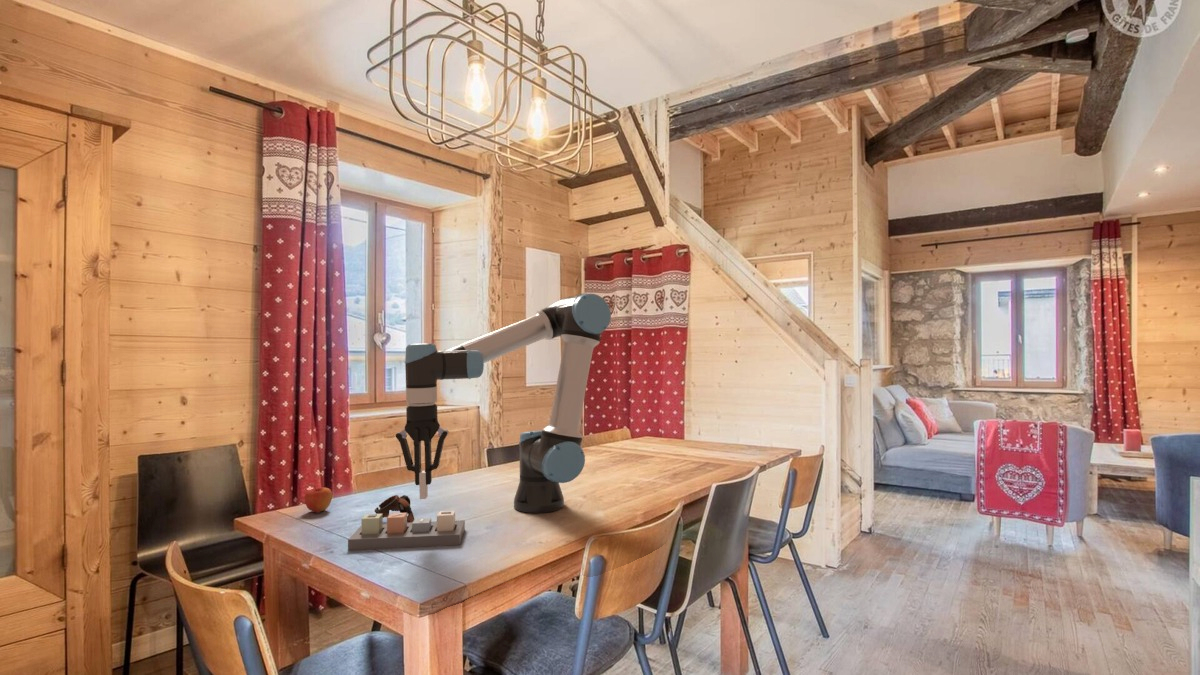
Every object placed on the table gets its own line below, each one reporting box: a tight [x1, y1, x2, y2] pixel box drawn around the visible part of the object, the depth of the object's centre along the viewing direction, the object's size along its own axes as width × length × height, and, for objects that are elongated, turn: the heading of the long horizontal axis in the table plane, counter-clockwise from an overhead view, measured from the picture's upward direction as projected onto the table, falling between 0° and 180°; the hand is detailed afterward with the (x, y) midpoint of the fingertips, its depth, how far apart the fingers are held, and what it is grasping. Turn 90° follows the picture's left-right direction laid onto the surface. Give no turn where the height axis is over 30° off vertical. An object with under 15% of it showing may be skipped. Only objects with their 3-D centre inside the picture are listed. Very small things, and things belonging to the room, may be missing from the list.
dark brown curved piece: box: [374, 494, 415, 523], centre depth 161 cm, size 12×10×8 cm
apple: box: [304, 485, 333, 514], centre depth 170 cm, size 7×7×8 cm
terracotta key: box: [386, 512, 408, 533], centre depth 144 cm, size 4×4×4 cm
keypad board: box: [347, 519, 466, 551], centre depth 144 cm, size 26×12×2 cm, turn 97°
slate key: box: [412, 517, 432, 532], centre depth 145 cm, size 4×4×4 cm
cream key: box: [436, 510, 456, 531], centre depth 146 cm, size 4×4×4 cm
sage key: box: [361, 513, 384, 535], centre depth 143 cm, size 4×4×4 cm
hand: (423, 497), depth 145 cm, fingers closed
